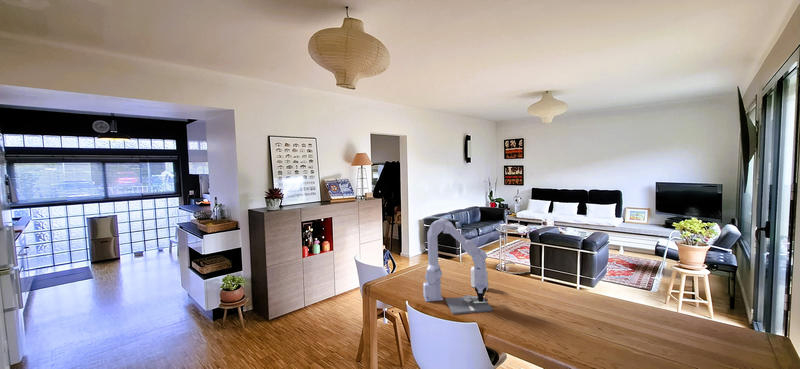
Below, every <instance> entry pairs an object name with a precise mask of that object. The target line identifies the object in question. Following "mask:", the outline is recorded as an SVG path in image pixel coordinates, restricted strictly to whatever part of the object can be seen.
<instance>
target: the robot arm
mask: <svg viewBox="0 0 800 369" xmlns="http://www.w3.org/2000/svg"><path fill="white" fill-rule="evenodd" d="M441 232H442V234H449V235H450V236H452V237H453V239H455V240H456V241H458V243H460V244H461V248H462V250H464V251H465V252H466V253H467V254H468V255H469V256H470V258H471V260H472V262H473V264H474V265H473V267H474V279H475V283H474V285H475V288H474V291H475V292H476V296H478V301H479V302H483V300H484V295H486V294H485V293H486V292H487V291H486V286H488V287H489V284H490V283H489V282H488V283H486V270H487V264H486V262H487V261H486V260H487V257H488V256H487V253H486V251H485V250H483V249H481V248H479V247H478V246H477V245H476V244H475V242H474V240H471V239H467V238H466V237H465V236H463V234H462V233H461V232H460V231H459V230H458V228H456V227H455V226H454V224H453V223H452V222H451V221H450V220H449V219H448V218H446V217H441V218H440V219H438V220H434V221H433V222H432V223H431V224H430V226H429V228H428V231H427V233H426V235H427V237H426V238H427V239H426V240H427V258H428V259H427V261H428V262H427V264H428V266H427V268H426V273H425V276H424V279H425V282H423V283H422V285H423V286H422V288H423V291H422V292H423V293H422V294H423V298H424V300H425V302H437V301H444V298H443V296H442V287H441V285H442V283H441V278H442V276H443V272H442V269H441V265H440V264H439V248H438V247H439V246H438V243H439V242H438V235H439V234H440V233H441Z"/></svg>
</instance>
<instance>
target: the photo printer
mask: <svg viewBox="0 0 800 369" xmlns="http://www.w3.org/2000/svg"><path fill="white" fill-rule="evenodd" d="M488 275H489V274H488V270H487V269H486V283H488V284H489V276H488ZM474 283H475V279H474V266H472V267H471V268H470V285H471V288H474V289H475V285H474ZM488 290H489V286H486V292H487V291H488Z"/></svg>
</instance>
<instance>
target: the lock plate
mask: <svg viewBox="0 0 800 369" xmlns="http://www.w3.org/2000/svg"><path fill="white" fill-rule="evenodd" d="M444 301H445V302H446V305H447V306H448V308H449V310H450V312H451V313H452V315H462V314H463V315H464V314H472V313H473V314H474V313H475V312H476V313H483V312H484V313H485V312H494V308H493V307H492V306H491V304H489V302H488V301H483V302H479V301H473V302H472V303H465V302H463V296H460V297H459V296H457V297H450V298H449V297H448V298H444Z"/></svg>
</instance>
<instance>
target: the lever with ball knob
mask: <svg viewBox="0 0 800 369" xmlns="http://www.w3.org/2000/svg"><path fill="white" fill-rule="evenodd" d="M462 297H463V302H465V303H472V302H473V301H478V296H477V295H469V294H467V295H463V296H462ZM483 301H487V302H488V301H489V296H488V294H484V300H483Z"/></svg>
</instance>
